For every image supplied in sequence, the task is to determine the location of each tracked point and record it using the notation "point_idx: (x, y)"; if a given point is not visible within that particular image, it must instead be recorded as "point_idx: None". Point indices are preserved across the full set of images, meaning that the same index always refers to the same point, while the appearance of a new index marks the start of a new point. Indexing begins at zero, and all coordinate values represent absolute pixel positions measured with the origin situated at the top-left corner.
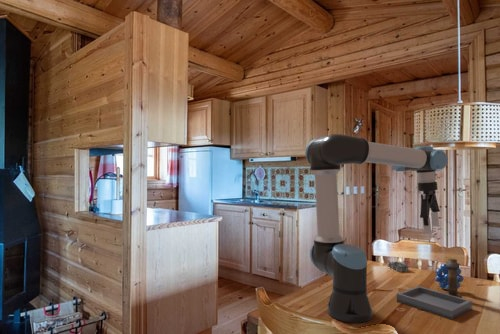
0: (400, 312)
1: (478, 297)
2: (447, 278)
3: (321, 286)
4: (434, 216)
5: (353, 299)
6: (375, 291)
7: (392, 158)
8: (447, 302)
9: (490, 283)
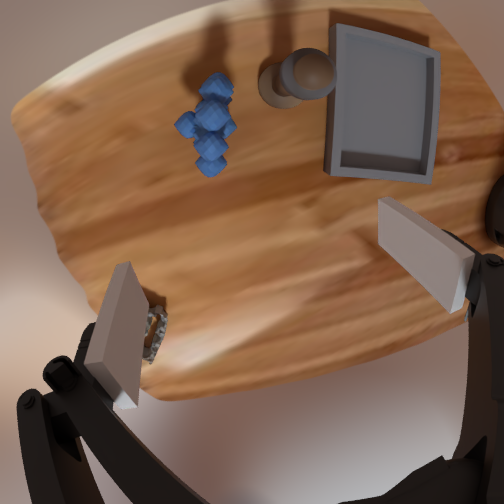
0: (464, 146)
1: (204, 45)
2: (233, 121)
3: (428, 324)
4: (127, 349)
5: None
6: None
7: None
8: (356, 78)
9: (34, 101)
